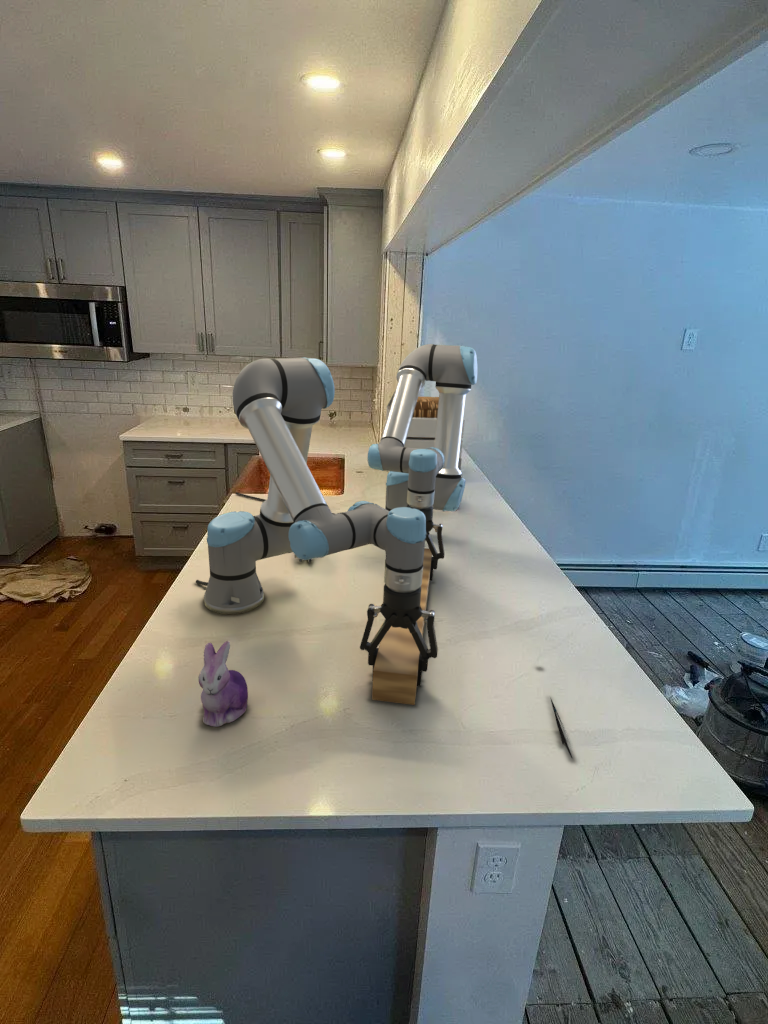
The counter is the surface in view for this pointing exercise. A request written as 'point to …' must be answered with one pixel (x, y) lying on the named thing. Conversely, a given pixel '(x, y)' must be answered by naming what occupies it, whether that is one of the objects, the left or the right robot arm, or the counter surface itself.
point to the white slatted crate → (424, 425)
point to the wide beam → (400, 655)
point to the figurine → (221, 688)
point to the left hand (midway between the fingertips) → (396, 679)
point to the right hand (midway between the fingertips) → (415, 577)
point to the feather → (560, 728)
